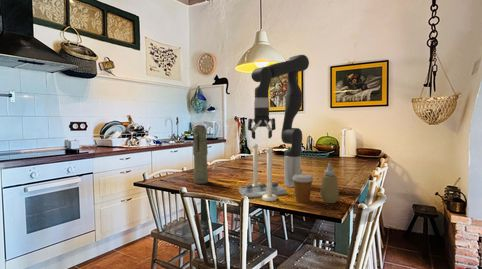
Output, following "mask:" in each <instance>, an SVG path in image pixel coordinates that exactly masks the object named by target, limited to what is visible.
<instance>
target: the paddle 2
mask: <svg viewBox="0 0 482 269" xmlns="http://www.w3.org/2000/svg"><path fill="white" fill-rule="evenodd" d="M278 185H279V182H277V181H274V182H273V181H272V187H273V188H274V187H277V186H278Z"/></svg>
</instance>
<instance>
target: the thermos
mask: <svg viewBox="0 0 482 269" xmlns="http://www.w3.org/2000/svg"><path fill="white" fill-rule="evenodd" d="M208 151H209V150H208V144H207V129H206V126H205V125H201V124H200V125H195V126H194V127H193V145H192V155H193V167H194V169H193V183H194V184H196V185H204V184H208V183H209V171H208Z"/></svg>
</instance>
